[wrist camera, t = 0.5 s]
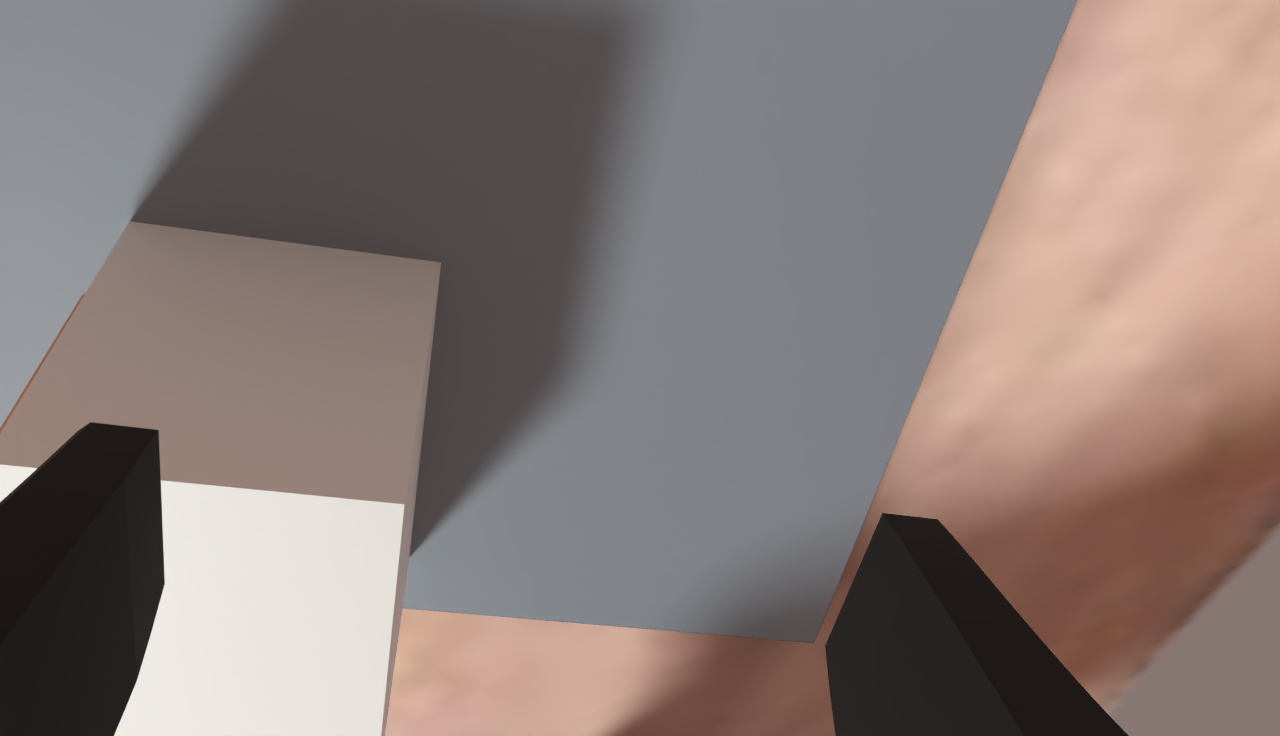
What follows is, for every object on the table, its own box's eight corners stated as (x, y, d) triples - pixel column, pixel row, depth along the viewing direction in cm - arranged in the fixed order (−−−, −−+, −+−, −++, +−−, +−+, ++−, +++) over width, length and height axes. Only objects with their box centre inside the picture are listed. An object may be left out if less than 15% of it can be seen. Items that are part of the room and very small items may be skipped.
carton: (441, 262, 20) (404, 504, 15) (409, 557, 24) (371, 825, 19) (103, 217, 19) (-54, 459, 14) (128, 532, 23) (14, 805, 18)
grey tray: (805, 608, 27) (835, 734, 24) (15, 538, 24) (-55, 669, 21) (1125, -202, 17) (1236, -149, 14) (-147, -476, 14) (-316, -477, 11)
